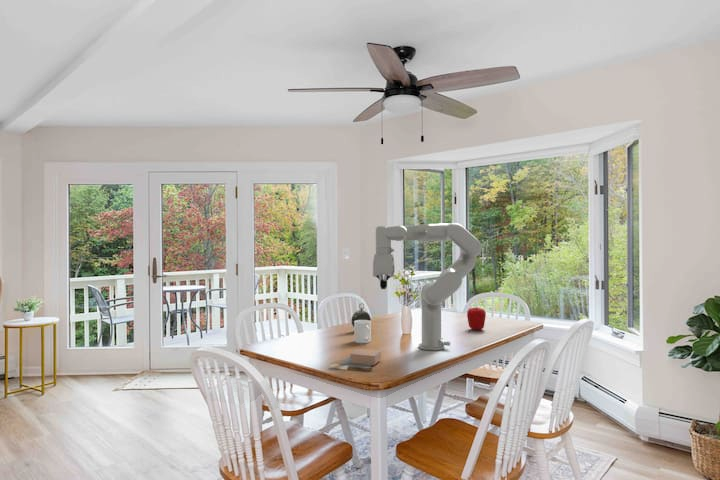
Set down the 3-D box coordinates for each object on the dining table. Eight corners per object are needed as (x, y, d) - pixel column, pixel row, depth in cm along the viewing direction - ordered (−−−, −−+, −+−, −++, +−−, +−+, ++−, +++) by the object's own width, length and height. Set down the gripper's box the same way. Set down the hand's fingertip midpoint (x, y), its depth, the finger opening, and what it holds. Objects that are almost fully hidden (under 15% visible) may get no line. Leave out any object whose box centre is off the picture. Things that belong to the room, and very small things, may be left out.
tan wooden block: (380, 350, 201) (357, 348, 205) (374, 355, 192) (350, 353, 196) (380, 359, 201) (357, 357, 205) (374, 365, 192) (350, 363, 196)
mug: (361, 345, 229) (361, 324, 228) (351, 341, 239) (351, 320, 239) (376, 344, 232) (376, 323, 232) (366, 339, 243) (366, 319, 243)
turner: (373, 369, 188) (373, 366, 188) (369, 372, 184) (369, 369, 184) (333, 365, 194) (333, 362, 194) (328, 368, 190) (328, 365, 190)
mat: (379, 359, 204) (379, 358, 204) (370, 367, 191) (370, 366, 191) (350, 356, 208) (350, 355, 208) (338, 364, 195) (338, 363, 195)
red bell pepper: (463, 329, 268) (463, 306, 268) (477, 327, 273) (477, 304, 273) (475, 332, 259) (475, 308, 259) (489, 330, 263) (489, 307, 263)
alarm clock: (367, 329, 268) (367, 302, 268) (372, 331, 263) (372, 303, 263) (351, 331, 262) (350, 303, 262) (355, 333, 258) (355, 304, 258)
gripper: (400, 251, 225) (400, 288, 225) (371, 251, 230) (371, 287, 230) (396, 251, 218) (396, 290, 218) (366, 251, 222) (366, 289, 223)
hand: (383, 288), depth 224 cm, fingers closed
